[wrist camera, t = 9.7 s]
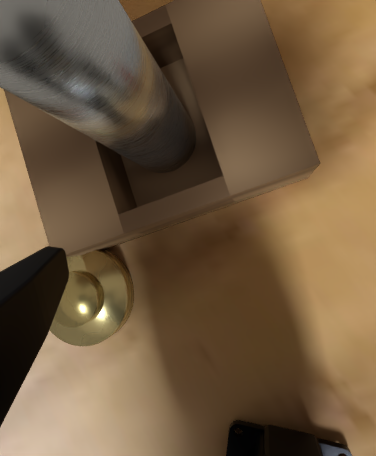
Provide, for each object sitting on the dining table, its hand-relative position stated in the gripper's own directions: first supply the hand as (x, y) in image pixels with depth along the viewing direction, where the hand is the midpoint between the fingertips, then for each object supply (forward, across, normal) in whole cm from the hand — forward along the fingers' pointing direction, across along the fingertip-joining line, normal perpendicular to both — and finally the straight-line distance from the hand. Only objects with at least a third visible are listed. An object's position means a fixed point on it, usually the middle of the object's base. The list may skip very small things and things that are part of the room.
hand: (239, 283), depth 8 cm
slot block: (+13, +4, +2) cm, 14 cm away
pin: (+13, +4, +1) cm, 13 cm away
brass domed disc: (+8, +8, +10) cm, 15 cm away
